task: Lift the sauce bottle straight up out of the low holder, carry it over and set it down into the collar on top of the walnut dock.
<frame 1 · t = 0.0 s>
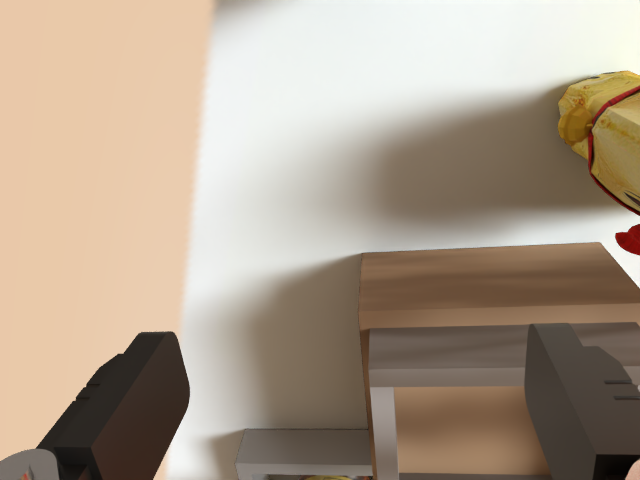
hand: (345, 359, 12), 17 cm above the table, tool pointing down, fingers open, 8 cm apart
walnut dock: (474, 341, 32), on the table
chocolate bunny: (623, 142, 26), on the table
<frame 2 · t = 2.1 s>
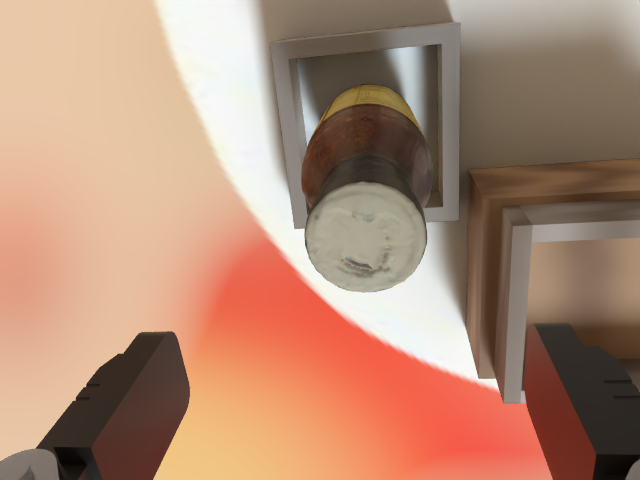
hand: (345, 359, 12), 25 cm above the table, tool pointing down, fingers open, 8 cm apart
sauce bottle: (370, 125, 35), resting in low holder
walnut dock: (560, 250, 37), on the table
low holder: (370, 126, 35), on the table
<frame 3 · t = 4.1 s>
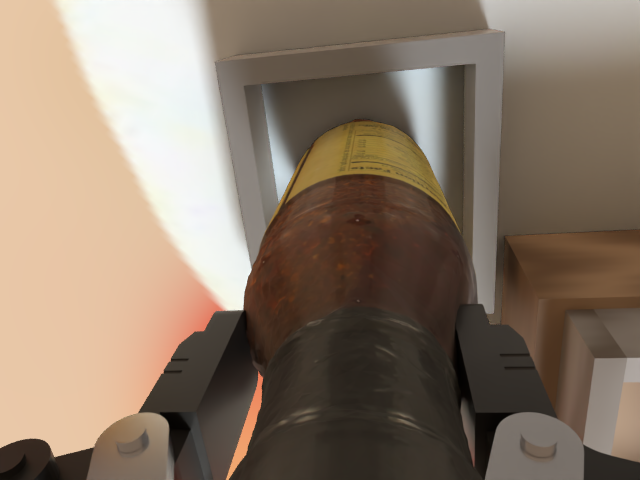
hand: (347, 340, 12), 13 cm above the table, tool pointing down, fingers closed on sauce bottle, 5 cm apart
sauce bottle: (366, 175, 25), resting in low holder, touching gripper
walnut dock: (629, 343, 27), on the table
low holder: (366, 176, 24), on the table
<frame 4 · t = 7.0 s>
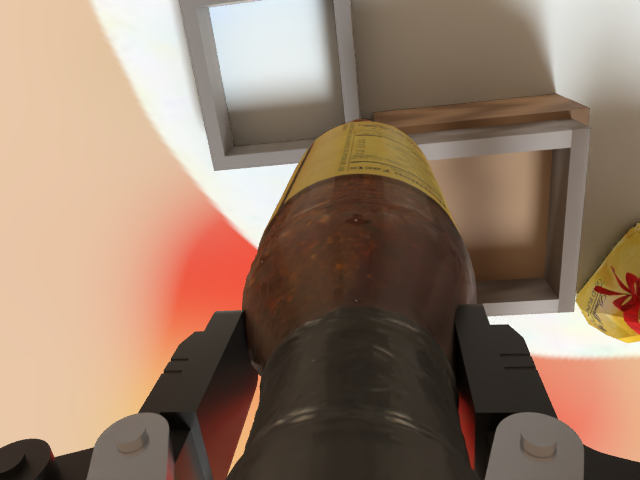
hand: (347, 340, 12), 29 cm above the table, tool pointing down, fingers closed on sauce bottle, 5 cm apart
sauce bottle: (366, 174, 25), point 15 cm above the table, touching gripper
walnut dock: (463, 188, 40), on the table
chocolate bunny: (615, 256, 41), on the table
low holder: (281, 73, 37), on the table
when the fingers open (21 cm above the table, at t = 10.3 s): sauce bottle drops 1 cm, resting on walnut dock.
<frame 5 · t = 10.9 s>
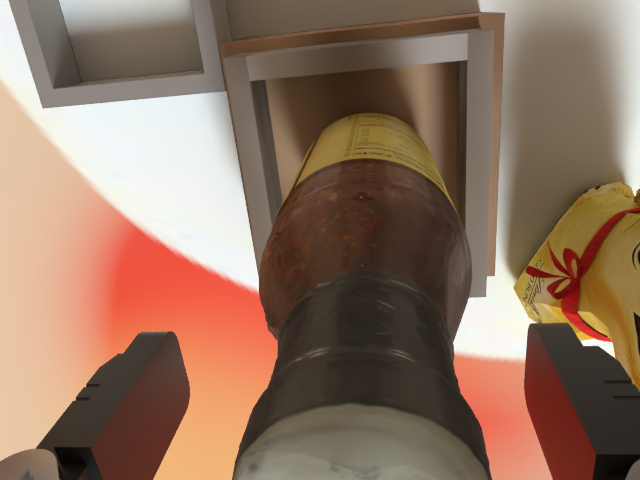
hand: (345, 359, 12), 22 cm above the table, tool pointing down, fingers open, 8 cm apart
sauce bottle: (370, 164, 26), point 6 cm above the table, touching walnut dock
walnut dock: (368, 139, 31), on the table
chocolate bunny: (564, 233, 33), on the table
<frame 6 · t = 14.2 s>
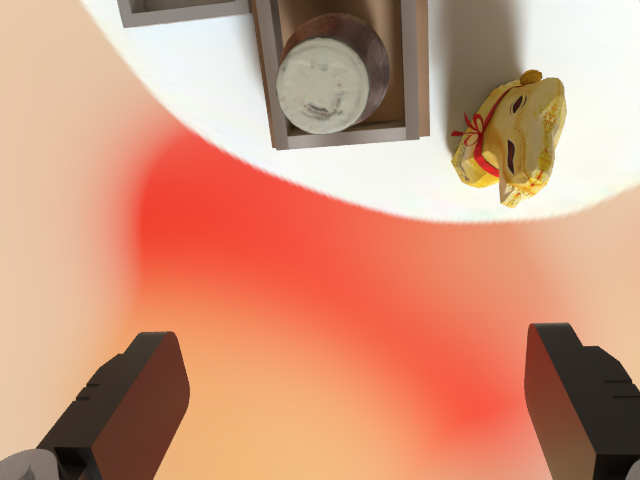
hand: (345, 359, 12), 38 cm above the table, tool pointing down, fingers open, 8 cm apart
sauce bottle: (346, 57, 40), point 6 cm above the table, touching walnut dock
walnut dock: (347, 52, 45), on the table
chocolate bunny: (486, 121, 46), on the table
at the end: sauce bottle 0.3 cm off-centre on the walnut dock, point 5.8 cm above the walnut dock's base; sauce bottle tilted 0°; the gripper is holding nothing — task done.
